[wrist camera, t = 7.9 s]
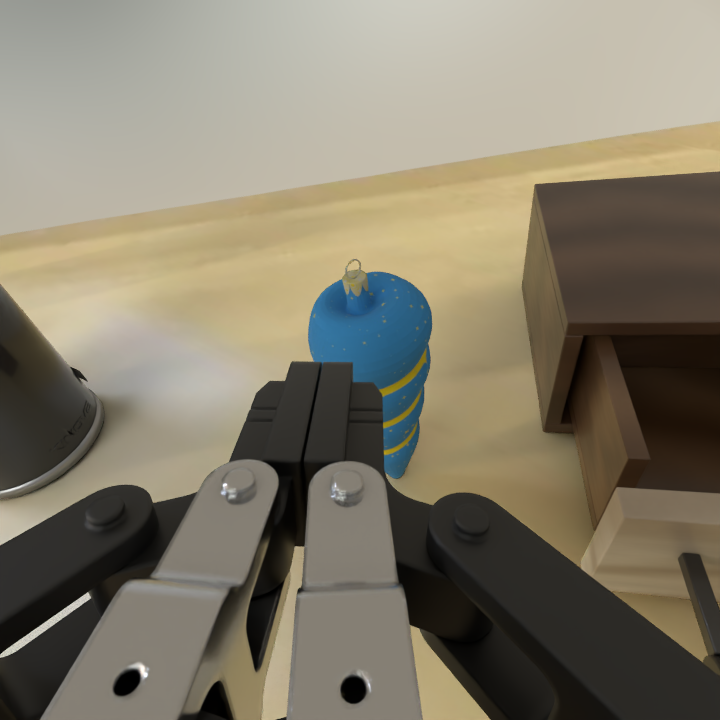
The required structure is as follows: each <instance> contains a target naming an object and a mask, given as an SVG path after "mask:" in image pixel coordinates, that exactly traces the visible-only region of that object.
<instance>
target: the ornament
mask: <svg viewBox="0 0 720 720" xmlns="http://www.w3.org/2000/svg"><path fill="white" fill-rule="evenodd" d="M354 260H357V259H353V260H351V261H350V262H349V263H348V265H349V264H350V263H351V262H352V261H354ZM357 261H358V262H359V260H357ZM348 265H347V266H346V268H345V274H344V276H343V278H342V279H341V280H339V281H337V282H336V283H334V284H332V285H331V286H329V287H328V288H326V289H325V290H324V291H323V292H322V293H321V295H320V296H319V298H318V299H317V301H316V302H315V304H314V307H313V309H312V312H311V316H310V322H309V332H308V341H309V346H310V352H311V355H312V357H313V360H314V362H322V365H323V362H353V382H374V384H375V385H376V386H377V388H378V389H379V391H380V392H381V393H382V397H383V438H384V470H385V473H387V474H388V475H390V476H391V477H392V478H395V479H397V478H400V477H401V476H402V475H403V473H404V471H405V469H406V467H407V465H408V463H409V461H410V459H411V457H412V455H413V453H414V450H415V448H416V445H417V442H418V438H419V430H420V426H419V416H420V414H421V411H422V407H423V403H424V383H425V381H426V379H427V376H428V372H429V368H430V362H431V360H430V351H429V345H428V342H429V339H430V335H431V331H432V315H431V310H430V307H429V305H428V302H427V300H426V298H425V297H424V295H423V294H422V293H421V292H420V291H419V290H418V289H417V288H416V287H415V286H414V285H413V284H411V283H409V282H408V281H406V280H404V279H402V278H400V277H398V276H395V275H392V274H389V273H385V272H370V273H365V272H364V271H362V270H360V269H361V264H360V262H359V270H352V271H348V272H347V267H348Z"/></svg>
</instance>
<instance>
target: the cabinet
mask: <svg viewBox="0 0 720 720" xmlns="http://www.w3.org/2000/svg"><path fill="white" fill-rule="evenodd" d="M533 196H534V197H533V201H532V209H531V217H530V225H529V233H528V241H527V249H526V257H525V265H524V273H523V281H522V291H523V298H524V304H525V311H526V318H527V325H528V332H529V339H530V345H531V352H532V359H533V366H534V373H535V380H536V386H537V393H538V400H539V407H540V414H541V420H542V427H543V431H544V432H556V433H574V431H573V426H572V421H571V416H570V411H569V406H568V401H567V397H568V393H569V389H570V385H571V381H572V378H573V374H574V370H575V366H576V363H577V359H578V355H579V351H580V348H581V344H582V340H583V335H720V172H706V173H691V174H677V175H662V176H647V177H633V178H618V179H603V180H589V181H574V182H559V183H545V184H535V186H534V194H533Z"/></svg>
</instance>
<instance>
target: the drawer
mask: <svg viewBox="0 0 720 720" xmlns="http://www.w3.org/2000/svg"><path fill="white" fill-rule="evenodd" d="M567 401H568V406H569V411H570V416H571V421H572V426H573V431H574V436H575V441H576V445H577V450H578V455H579V460H580V465H581V470H582V475H583V480H584V485H585V490H586V495H587V500H588V505H589V510H590V514H591V519H592V524H593V529H594V531H595V533H594V535H593V537H592V539H591V541H590V543H589V545H588V547H587V549H586V551H585V553H584V555H583V558H582V560H581V562H580V564H581V569H582V570H583V571H585V572H586V573H587V574H589V575H590V576H591V577H592V578H594V579H595V580H596V581H598V582H599V583H600V584H601V585H603V586H604V587H605V588H607V589H608V590H609V591H617V592H626V593H635V594H645V595H654V596H664V597H673V598H682V599H691V602H692V606H693V609H694V612H695V615H696V618H697V621H698V624H699V628H700V631H701V634H702V637H703V640H704V643H705V646H706V649H707V653H708V656H706V657H705V658H704V660H703V663H704V664H705V665H706V666H707V667H709V668H710V669H711V670H713V671H714V672H715V673H717V674H718V675H719V676H720V609H719V607H718V604H717V602H720V335H583V340H582V344H581V348H580V351H579V355H578V359H577V363H576V366H575V370H574V374H573V378H572V381H571V385H570V389H569V393H568V397H567Z"/></svg>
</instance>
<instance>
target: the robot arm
mask: <svg viewBox="0 0 720 720" xmlns="http://www.w3.org/2000/svg"><path fill="white" fill-rule="evenodd" d="M79 378H81V379H83V380H85V381H87V380H86V378H85V377H84V376H83V375H82V374H81V372H80V371H78V370H76V369H74V368H72V367H70V366H69V365H68V364H67V363H66V361H65V360H64V359H63V358H62V357H61V355H60V354H59V353H58V352H57V351H56V350H55V348H54V347H53V346H52V345H51V344H50V342H49V341H48V340H47V339H46V338H45V336H44V335H43V334H42V333H41V332H40V331H39V329H38V328H37V327H36V326H35V325H34V323H33V322H32V321H31V320H30V319H29V317H28V316H27V315H26V314H25V313H24V312H23V310H22V309H21V308H20V307H19V306H18V304H17V303H16V302H15V301H14V300H13V298H12V297H11V296H10V295H9V294H8V293H7V291H6V290H5V289H4V288H3V287H2V285H1V284H0V500H1V499H9V498H14V497H18V496H21V495H24V494H27V493H30V492H32V491H35V490H37V489H39V488H41V487H43V486H45V485H47V484H48V483H50V482H52V481H53V480H55V479H56V478H58V477H59V476H61V475H62V474H64V473H65V472H66V471H67V470H69V469H70V468H71V467H72V466H73V465H75V464H76V463H77V462H78V461H79V460H80V459H81V458H82V457H83V456H84V454H85V453H86V452H87V451H88V450H89V449H90V447H91V446H92V444H93V443H94V441H95V440H96V438H97V436H98V434H99V432H100V430H101V428H102V425H103V420H104V408H103V405H102V403H101V401H100V400H99V399H98V397H97V396H96V395H95V394H94V393H93V392H92V391H91V390H90V389H88V388H87V387H86V386H85V385H84V383H83V382H82V381H81V380H80V379H79ZM295 546H305V548H304V563H303V577H302V586H301V588H299V589H298V592H297V597H296V606H295V618H294V631H293V644H292V656H291V669H290V682H289V695H288V707H287V717H284V718H281V719H277V720H423V718H422V711H421V704H420V696H419V689H418V682H417V675H416V668H415V661H414V653H413V646H412V639H411V632H410V625H412V626H414V627H417V628H420V631H421V634H422V636H423V638H424V639H425V641H426V642H427V644H428V645H429V646H430V647H431V648H432V650H433V651H434V652H435V653H436V654H437V656H438V657H439V658H440V659H441V660H442V662H443V663H444V664H445V665H446V666H447V668H448V669H449V670H450V671H451V672H452V674H453V675H454V676H455V677H456V678H457V680H458V681H459V682H460V683H461V684H462V686H463V687H464V688H465V689H466V690H467V692H468V693H469V694H470V695H471V696H472V698H473V699H474V700H475V701H476V702H477V704H478V705H479V706H480V707H481V708H482V710H483V711H484V712H485V713H486V714H487V716H488V717H489V718H490V719H491V720H720V676H719V675H718V674H717V673H715V672H714V671H713V670H711V669H710V668H709V667H707V666H706V665H705V664H704V663H702V662H701V661H700V660H698V659H697V658H696V657H695V656H693V655H692V654H691V653H689V652H688V651H687V650H686V649H684V648H683V647H682V646H680V645H679V644H678V643H676V642H675V641H674V640H673V639H671V638H670V637H669V636H667V635H666V634H665V633H664V632H662V631H661V630H660V629H658V628H657V627H656V626H654V625H653V624H652V623H651V622H649V621H648V620H647V619H645V618H644V617H643V616H642V615H640V614H639V613H638V612H636V611H635V610H634V609H633V608H631V607H630V606H629V605H627V604H626V603H625V602H623V601H622V600H621V599H620V598H618V597H617V596H616V595H614V594H613V593H612V592H611V591H609V590H608V589H607V588H605V587H604V586H603V585H601V584H600V583H599V582H598V581H596V580H595V579H594V578H592V577H591V576H590V575H589V574H587V573H586V572H585V571H583V570H582V569H581V568H580V567H578V566H577V565H576V564H574V563H573V562H572V561H570V560H569V559H568V558H567V557H565V556H564V555H563V554H561V553H560V552H559V551H558V550H556V549H555V548H554V547H552V546H551V545H550V544H548V543H547V542H546V541H545V540H543V539H542V538H541V537H539V536H538V535H537V534H536V533H534V532H533V531H532V530H530V529H529V528H528V527H527V526H525V525H524V524H523V523H521V522H520V521H519V520H517V519H516V518H515V517H514V516H512V515H511V514H510V513H508V512H507V511H506V510H505V509H503V508H502V507H501V506H499V505H498V504H497V503H495V502H494V501H492V500H490V499H488V498H486V497H483V496H481V495H477V494H473V493H454V494H450V495H447V496H445V497H443V498H441V499H439V500H438V501H437V502H436V503H435V504H434V505H429V504H426V503H423V502H419V501H416V500H413V499H410V498H408V497H406V496H404V495H403V494H401V493H400V492H398V491H397V490H396V489H395V488H394V487H393V486H392V485H391V484H390V483H389V481H388V479H387V478H386V475H385V470H384V438H383V397H382V393H381V392H380V391H379V389H378V388H377V386H376V385H375V384H374V382H353V362H323V365H322V362H293V361H292V362H291V364H290V367H289V371H288V374H287V377H286V380H285V381H269V382H268V383H267V384H266V385H265V386H264V387H263V388H262V389H260V390H259V391H258V392H257V393H256V396H255V398H254V401H253V403H252V406H251V410H250V411H249V413H248V416H247V418H246V422H245V423H244V426H243V428H242V431H241V433H240V436H239V438H238V441H237V443H236V446H235V448H234V451H233V453H232V456H231V458H230V461H229V463H226V464H224V465H222V466H220V467H218V468H217V469H215V470H214V471H213V472H211V473H210V474H209V475H208V476H207V477H206V479H205V480H204V482H203V483H202V485H201V487H200V489H199V490H198V492H196V493H193V494H190V495H187V496H183V497H179V498H174V499H170V500H166V501H161V502H157V503H153V502H152V499H151V497H150V494H149V493H148V492H147V491H146V490H144V489H143V488H141V487H138V486H134V485H117V486H112V487H108V488H105V489H102V490H100V491H97V492H95V493H93V494H91V495H89V496H87V497H86V498H84V499H82V500H80V501H78V502H77V503H75V504H73V505H71V506H70V507H68V508H66V509H64V510H63V511H61V512H59V513H57V514H55V515H54V516H52V517H50V518H48V519H47V520H45V521H43V522H41V523H40V524H38V525H36V526H34V527H32V528H31V529H29V530H27V531H25V532H24V533H22V534H20V535H18V536H16V537H15V538H13V539H11V540H9V541H8V542H6V543H4V544H2V545H1V546H0V654H1V653H2V652H3V651H5V650H6V649H7V648H9V647H10V646H11V645H13V644H14V643H16V642H17V641H19V640H20V639H21V638H23V637H24V636H26V635H27V634H29V633H30V632H31V631H33V630H34V629H36V628H37V627H39V626H40V625H41V624H43V623H44V622H46V621H47V620H49V619H50V618H51V617H53V616H54V615H56V614H57V613H59V612H60V611H61V610H63V609H64V608H66V607H67V606H69V605H70V604H71V603H73V602H74V601H76V600H77V599H79V598H80V597H81V596H83V595H84V594H86V593H87V592H89V594H90V596H91V599H90V600H88V601H87V602H85V603H84V604H83V605H81V606H80V607H78V608H77V609H76V610H74V611H73V612H71V613H70V614H69V615H67V616H66V617H64V618H63V619H62V620H60V621H59V622H57V623H56V624H55V625H53V626H52V627H50V628H49V629H47V630H46V631H45V632H43V633H42V634H40V635H39V636H38V637H36V638H35V639H33V640H32V641H31V642H29V643H28V644H26V645H25V646H24V647H22V648H21V649H19V650H18V651H16V652H15V653H13V654H11V655H8V656H6V657H3V658H0V720H261V718H262V707H263V691H264V685H265V679H266V675H267V671H268V667H269V663H270V659H271V655H272V651H273V647H274V644H275V640H276V636H277V632H278V628H279V624H280V620H281V616H282V612H283V609H284V605H285V601H286V597H287V593H288V589H289V585H290V568H291V563H292V558H293V552H294V547H295Z"/></svg>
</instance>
